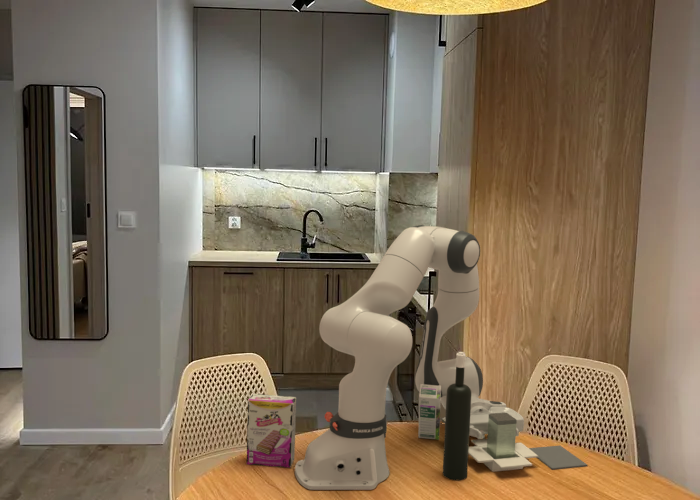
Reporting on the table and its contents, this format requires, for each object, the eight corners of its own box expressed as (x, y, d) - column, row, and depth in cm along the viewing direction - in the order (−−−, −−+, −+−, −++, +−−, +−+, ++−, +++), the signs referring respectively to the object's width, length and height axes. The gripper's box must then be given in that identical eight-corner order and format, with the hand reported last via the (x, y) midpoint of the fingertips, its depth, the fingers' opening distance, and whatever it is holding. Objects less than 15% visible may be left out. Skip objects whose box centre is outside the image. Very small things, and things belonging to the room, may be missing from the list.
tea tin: (495, 468, 159) (498, 421, 157) (486, 459, 163) (488, 413, 162) (513, 466, 160) (516, 419, 159) (503, 458, 165) (506, 412, 163)
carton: (485, 480, 152) (485, 468, 151) (456, 452, 167) (457, 441, 167) (546, 474, 156) (547, 462, 156) (512, 447, 172) (513, 436, 171)
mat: (552, 469, 159) (552, 468, 159) (526, 449, 170) (526, 448, 170) (587, 466, 161) (587, 464, 161) (560, 446, 173) (560, 445, 173)
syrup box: (417, 438, 176) (418, 397, 169) (419, 423, 181) (420, 382, 174) (439, 440, 175) (440, 399, 168) (440, 424, 180) (441, 384, 173)
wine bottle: (438, 471, 156) (444, 350, 153) (459, 468, 158) (465, 348, 155) (450, 482, 151) (456, 356, 147) (471, 478, 152) (478, 354, 149)
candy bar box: (245, 465, 156) (246, 399, 154) (251, 456, 161) (251, 393, 159) (291, 469, 155) (292, 402, 153) (295, 460, 160) (296, 395, 158)
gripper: (439, 406, 172) (461, 425, 159) (508, 401, 177) (535, 420, 164) (438, 428, 173) (460, 450, 159) (507, 423, 178) (534, 443, 165)
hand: (499, 434), depth 162 cm, fingers open, 8 cm apart
